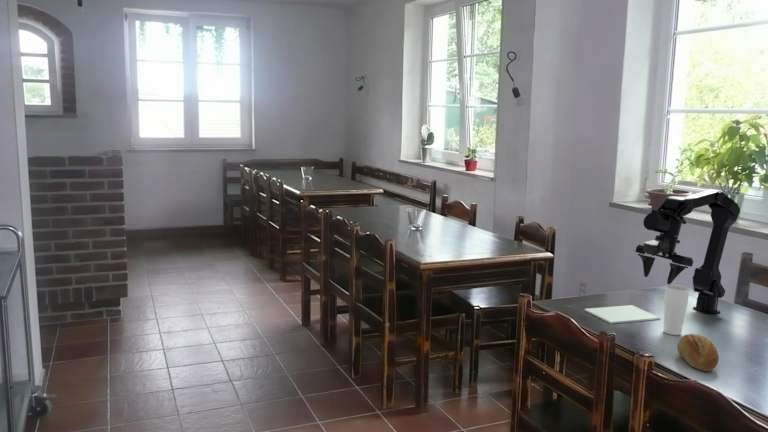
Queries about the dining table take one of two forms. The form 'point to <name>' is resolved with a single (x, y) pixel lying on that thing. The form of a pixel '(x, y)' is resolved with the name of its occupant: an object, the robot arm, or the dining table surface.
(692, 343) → the bread roll
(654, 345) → the dining table surface
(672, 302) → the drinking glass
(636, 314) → the pad
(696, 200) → the robot arm
